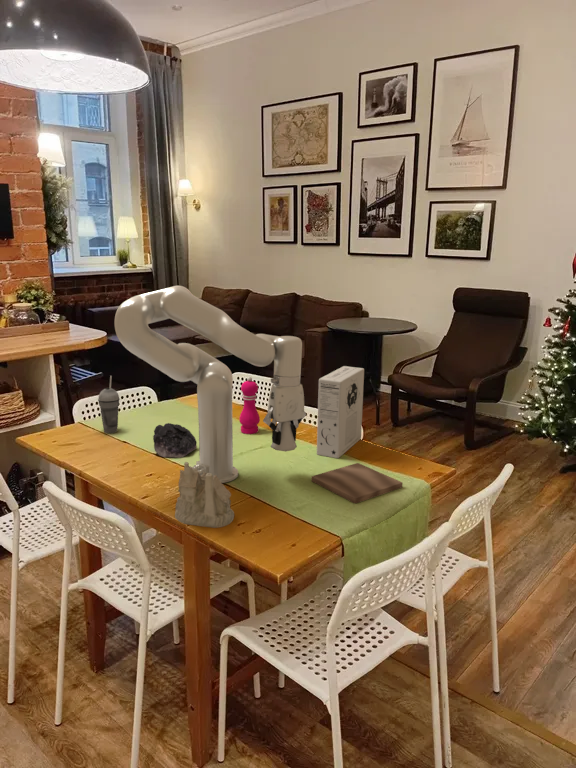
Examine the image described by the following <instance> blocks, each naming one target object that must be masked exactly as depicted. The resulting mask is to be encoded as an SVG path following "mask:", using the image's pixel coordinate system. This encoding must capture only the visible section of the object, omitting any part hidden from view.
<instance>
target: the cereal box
mask: <svg viewBox="0 0 576 768" xmlns="http://www.w3.org/2000/svg"><path fill="white" fill-rule="evenodd" d="M364 380H365V368H363V367H355V366H347V365H343V366H341V367H340V368H337V369H336V370H335V369H334V370H333V371H331V372H330V373H328V374H326V375H324V376H322V377H320V378H319V379H318V394H317V395H318V396H317V397H318V398H317V427H316V428H317V430H316V431H317V433H316V436H317V437H316V455H318V456H323V457H329V458H333V459H339V458H341V456H343V455H344V454H345V453H347V451H349V450H350V449H351V448H352V447H353V446H355V444H356V443H358V442H359V441H360V440H361V439H362V423H363V403H364V382H365V381H364Z"/></svg>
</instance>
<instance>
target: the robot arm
mask: <svg viewBox="0 0 576 768" xmlns="http://www.w3.org/2000/svg"><path fill="white" fill-rule="evenodd" d="M169 319H170V320H172V321H174V322H176V323H178V324H180V325H182V326H183V327H186V328H187V329H190V330H192V331H194V332H195V333H197V334H199V335H201V336H202V337H204V338H207V339H208V340H210V341H211V342H212V343H213V344H215V345H217V346H220V348H222V349H224V350H225V351H226V352H228V353H230V354H232V355H234V356H235V357H237V358H239V359H241V360H242V361H244V362H247V363H249V364H251V365H253V366H255V367H262V368H263V367H266V366H269V365H271V364H272V362H273V377H272V378H270V383H271V387H270V391H269V397H268V404H267V413H266V414H265V416H264V417H263V420H262V422H263V423H264V424H266V425H267V426H268V427H269V428H270V430H272V431H271V432H272V433H271V441H272V442H273V443H275V444H277V445H280V443H281V432H280V431H279V430H280V426H281V422H287V421H290V427H291V430H292V434H293V437H294V440H295V442H296V441H297V440H296V439H297V429H298V428H299V425H300V423H302V420H303V419H304V418H305V417H306V416H307V413H306V411H305V396H304V395H305V394H304V388H303V384H302V383H301V374H302V373H301V371H302V355H303V353H302V351H303V340H302V339H301V338H300V337H297V336H295V335H294V336H293V335H281V336H278V335H272V334H266V333H257V334H254V333H253V332H250V331H249V330H247V329H246V328H244V327H242V326H241V325H239V324H238V323H237V322H235V321H234V320H233V319H232V318H231V317H230V316H229V315H228V314H227V313H226V312H225V311H224V310H223V309H220V308H219V307H217V306H214V305H213V304H210V303H208V302H207V301H204V300H203V299H202V298H200V297H197V296H195V295H194V294H192V292H191V291H190V290H189V289H188V288H187V287H185V286H183V285H173V286H170V287H166V288H162V289H158V290H154V291H150V292H146V293H142V294H138V295H134V296H131V297H130V298H129V299H126V300H125V301H123V302H122V303H121V304H120V305H119V306H118V308H117V310H116V312H115V316H114V330H115V334H116V336H117V339H118V341H119V342H120V343H121V345H122V346H123V347H124V348H125V349H126V350H127V351H129V352H130V353H131V354H133V355H134V356H136V357H137V358H138V359H141V360H143V362H146V363H147V364H149V365H150V366H152V367H153V368H155V369H157V370H159V371H160V372H161V373H163V374H164V375H167V376H168V377H169V378H171V379H173V380H174V381H176V382H180V383H185V382H190V381H191V382H193V383H194V384H196V386H197V387H196V394H197V396H196V397H197V398H196V399H197V412H198V418H197V419H198V438H199V439H198V441H199V442H198V446H199V447H198V449H199V450H198V451H199V453H198V454H199V460H198V461H195V462H196V463H195V465H193V466H191V467H192V469H193V470H194V469H197V470H198V472H199V474H200V476H201V475H202V474H203V473H204V472H205V473H211V474H212V475H213V477H214V475H217V477H218V478H219V480H220V481H221V484H226V483H229V482H232V481H234V480H236V479H237V478H238V476H239V470H238V468H236V467H235V466H234V464H233V463H234V462H233V461H234V458H233V456H234V455H233V454H234V451H233V450H234V449H233V447H234V446H233V445H234V444H233V443H234V442H233V438H234V437H233V436H234V435H233V379H234V377H233V373H232V371H231V369H230V368H229V367H228V366H227V365H226V364H225V363H223V362H222V361H220V360H219V359H217V358H216V357H214V356H212V355H211V354H209V353H208V352H206V351H204V350H203V349H201V348H199V347H197V346H196V345H194V344H191V343H189V342H187V343H186V342H179V343H176V342H173V341H172V340H170V339H168V338H167V337H165V335H162V334H161V333H159V332H157V331H155V330H153V329H151V328H150V327H149V324H153V323H157V322H161V321H165V320H169ZM272 442H271V443H272Z"/></svg>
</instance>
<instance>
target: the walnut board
mask: <svg viewBox="0 0 576 768" xmlns="http://www.w3.org/2000/svg"><path fill="white" fill-rule="evenodd" d="M311 482H312V483H315V484H316V485H318V486H320V487H322V488H324V489H326V490H328V491H330V492H331V493H333V494H335V495H337V496H339V497H341V498H343V499H345V500H347V501H349V502H351V503H353V504H355V505H356V504H359V503H361V502H365V501H367V500H371V499H374V498H377V497H379V496H381V495H384V494H388V493H390V492H393V491H396V490H399V489H402V488H403V481H400V480H398V479H396V478H393V477H391V476H389V475H387V474H384V473H382V472H380V471H377V470H375V469H373V468H370V467H369V466H365V465H364V464H361V463H360V462H356V463H352V464H349V465H345V466H342V467H338V468H334V469H332V470H328V471H325V472H321V473H318V474H315V475H312V476H311Z"/></svg>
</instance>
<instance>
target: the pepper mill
mask: <svg viewBox="0 0 576 768" xmlns="http://www.w3.org/2000/svg"><path fill="white" fill-rule="evenodd" d="M240 390H241V393H242V397H241V398H242V400H243V408H242V410H241V413H240V415H239V423H240V424H241V426H240V432H241V433H242V434H245V435H246V434H247V435H253V434H257V433H259V426H258V424H259V423H260V421H261V418H260V414H259V412H258V409H257V408H256V407H257V406H256V400H257V399H258V398H257V397H258V396H257V393H258V390H259V385H258V384H257V382H255V381H254V380H253V377H251V376H248V377H246V380H245V381H243V382H242V383H241V386H240Z"/></svg>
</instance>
